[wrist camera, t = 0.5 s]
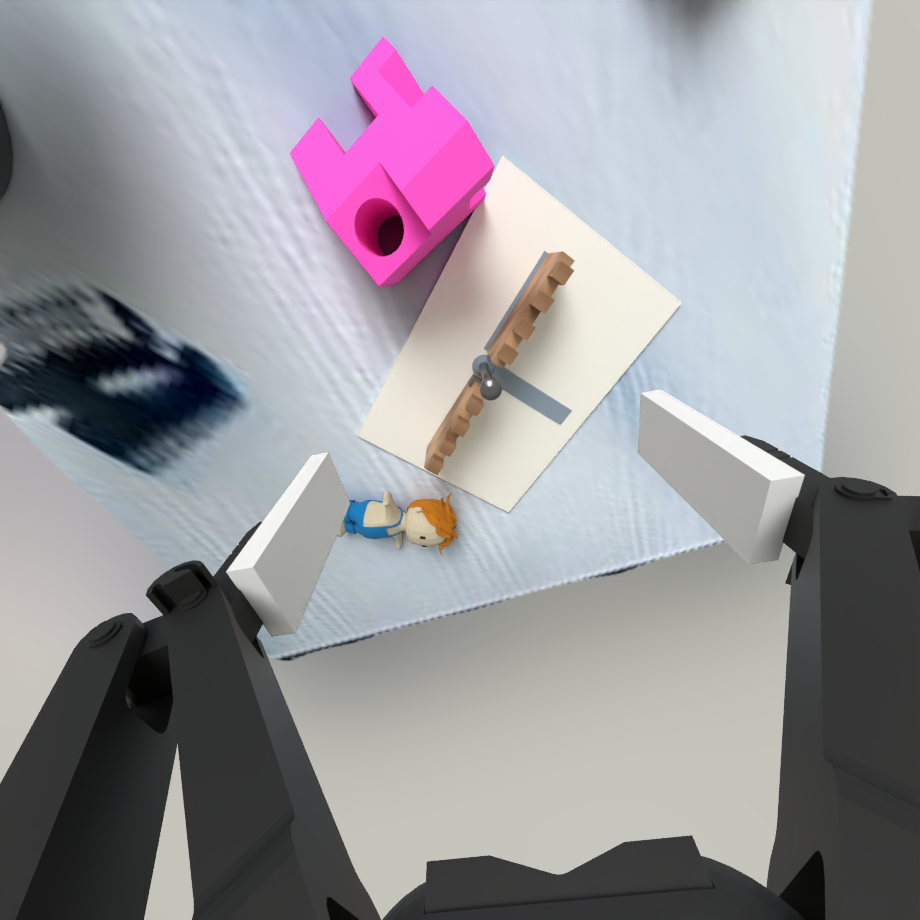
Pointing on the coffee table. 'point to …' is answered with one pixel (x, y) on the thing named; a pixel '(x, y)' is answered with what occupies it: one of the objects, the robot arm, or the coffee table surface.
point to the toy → (402, 521)
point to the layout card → (540, 357)
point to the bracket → (395, 168)
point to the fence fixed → (530, 307)
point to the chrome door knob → (489, 383)
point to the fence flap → (454, 424)
